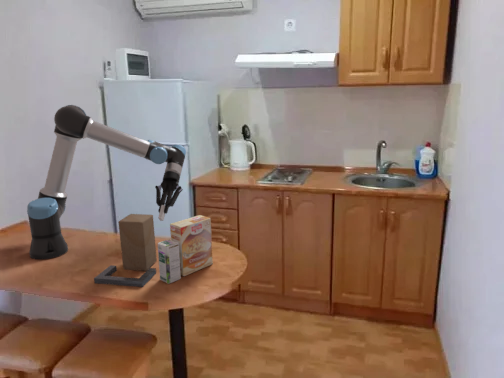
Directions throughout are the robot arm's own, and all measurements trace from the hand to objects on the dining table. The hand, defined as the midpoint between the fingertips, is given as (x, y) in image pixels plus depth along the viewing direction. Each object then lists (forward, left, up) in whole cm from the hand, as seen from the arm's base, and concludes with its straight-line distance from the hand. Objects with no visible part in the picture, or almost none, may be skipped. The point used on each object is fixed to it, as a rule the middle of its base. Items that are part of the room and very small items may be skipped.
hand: (160, 219), depth 185 cm
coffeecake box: (+22, -20, -13) cm, 32 cm away
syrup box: (+17, -31, -13) cm, 38 cm away
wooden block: (0, -21, -13) cm, 25 cm away
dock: (0, -33, -12) cm, 35 cm away
